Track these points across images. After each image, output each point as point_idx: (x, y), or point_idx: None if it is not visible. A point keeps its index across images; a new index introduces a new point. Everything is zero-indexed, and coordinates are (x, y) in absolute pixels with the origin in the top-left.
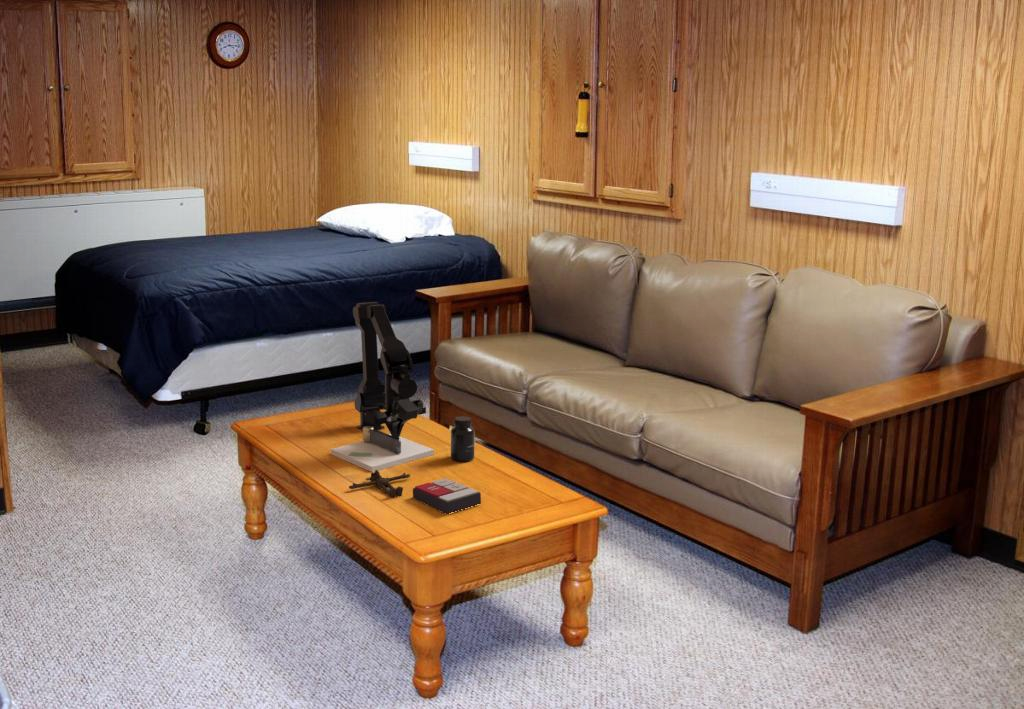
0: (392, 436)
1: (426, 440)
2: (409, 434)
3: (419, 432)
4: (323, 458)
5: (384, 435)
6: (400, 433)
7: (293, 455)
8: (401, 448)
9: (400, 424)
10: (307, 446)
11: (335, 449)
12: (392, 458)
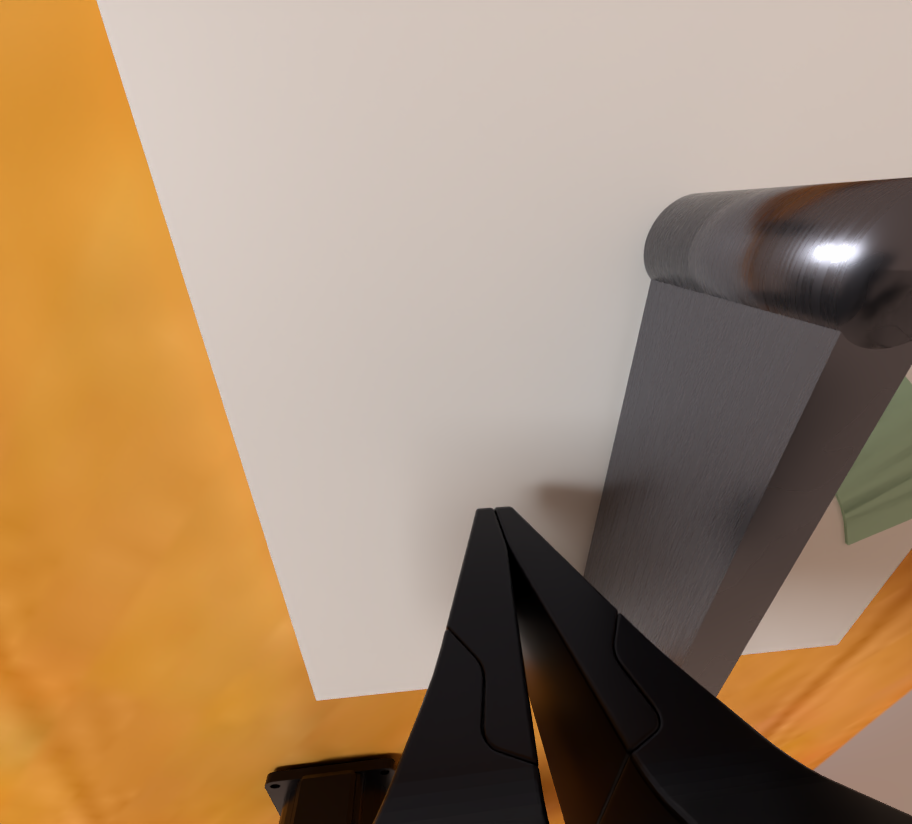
0: (785, 484)
1: (54, 514)
2: (157, 665)
3: (55, 667)
4: (893, 581)
5: (768, 590)
6: (463, 576)
7: (897, 668)
8: (497, 382)
9: (541, 788)
10: (749, 720)
11: (831, 630)
12: (879, 122)
